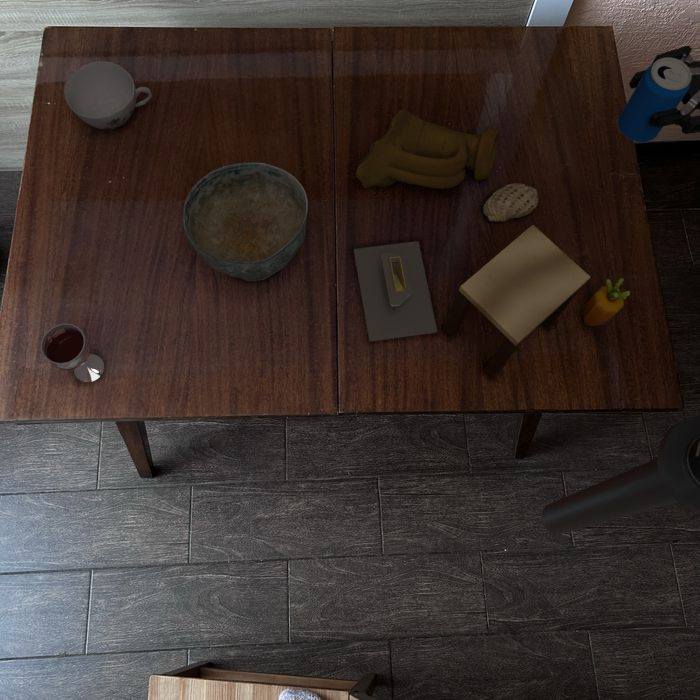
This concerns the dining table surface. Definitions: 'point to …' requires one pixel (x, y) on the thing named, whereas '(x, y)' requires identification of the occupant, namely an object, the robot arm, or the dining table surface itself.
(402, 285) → the platform
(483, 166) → the brown looped sculpture
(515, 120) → the dining table surface
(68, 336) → the wineglass
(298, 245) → the bowl
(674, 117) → the robot arm
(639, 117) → the beverage can
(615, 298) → the carrot
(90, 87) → the teacup
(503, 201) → the seashell
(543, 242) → the stool
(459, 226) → the dining table surface
